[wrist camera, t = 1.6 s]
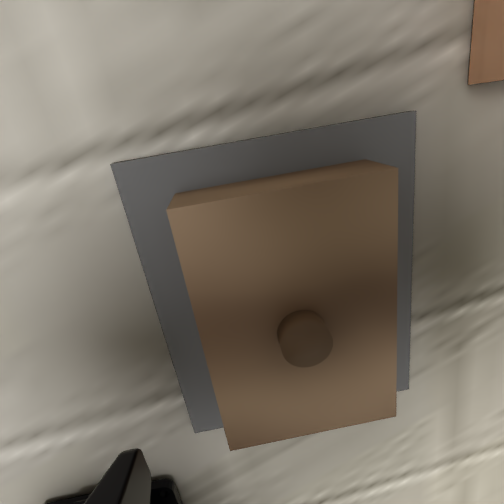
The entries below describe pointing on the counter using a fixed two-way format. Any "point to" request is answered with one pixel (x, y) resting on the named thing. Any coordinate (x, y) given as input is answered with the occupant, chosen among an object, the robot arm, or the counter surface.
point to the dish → (487, 42)
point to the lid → (295, 297)
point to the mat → (241, 169)
